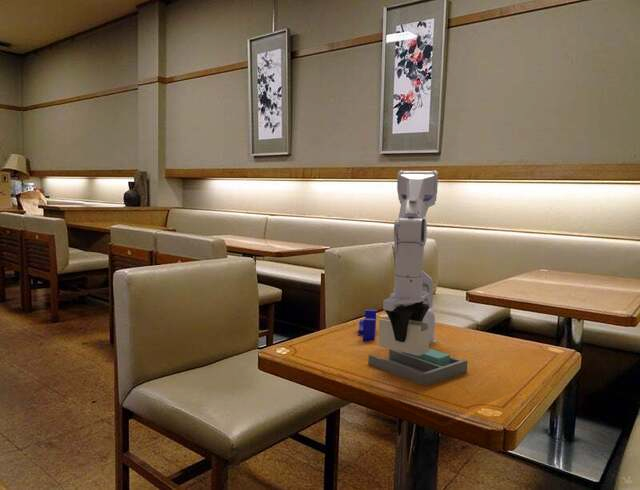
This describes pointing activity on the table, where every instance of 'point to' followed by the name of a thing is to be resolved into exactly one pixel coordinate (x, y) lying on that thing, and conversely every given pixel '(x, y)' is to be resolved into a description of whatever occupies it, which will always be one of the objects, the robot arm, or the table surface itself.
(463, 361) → the grey divided tray
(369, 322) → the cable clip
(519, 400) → the table surface
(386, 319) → the grey striped bar
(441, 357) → the teal rectangular prism
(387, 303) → the robot arm
